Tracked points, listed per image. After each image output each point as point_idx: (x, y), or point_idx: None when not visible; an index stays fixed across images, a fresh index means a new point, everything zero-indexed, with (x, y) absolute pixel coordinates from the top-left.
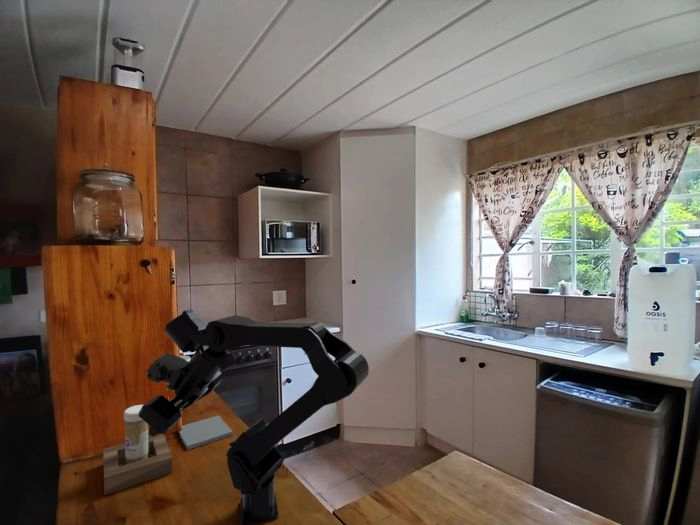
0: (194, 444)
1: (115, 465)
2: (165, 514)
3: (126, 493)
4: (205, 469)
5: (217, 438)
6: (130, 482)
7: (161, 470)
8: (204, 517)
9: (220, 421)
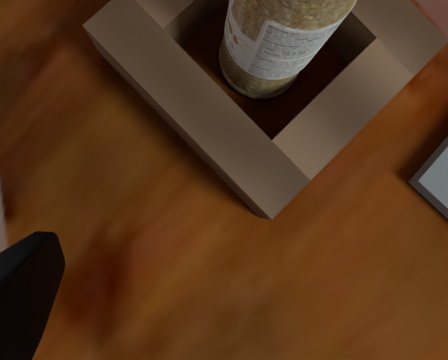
0: (438, 201)
1: (168, 7)
2: (46, 346)
3: (123, 126)
4: (303, 338)
5: None
6: (157, 110)
7: (234, 189)
8: None
9: None
